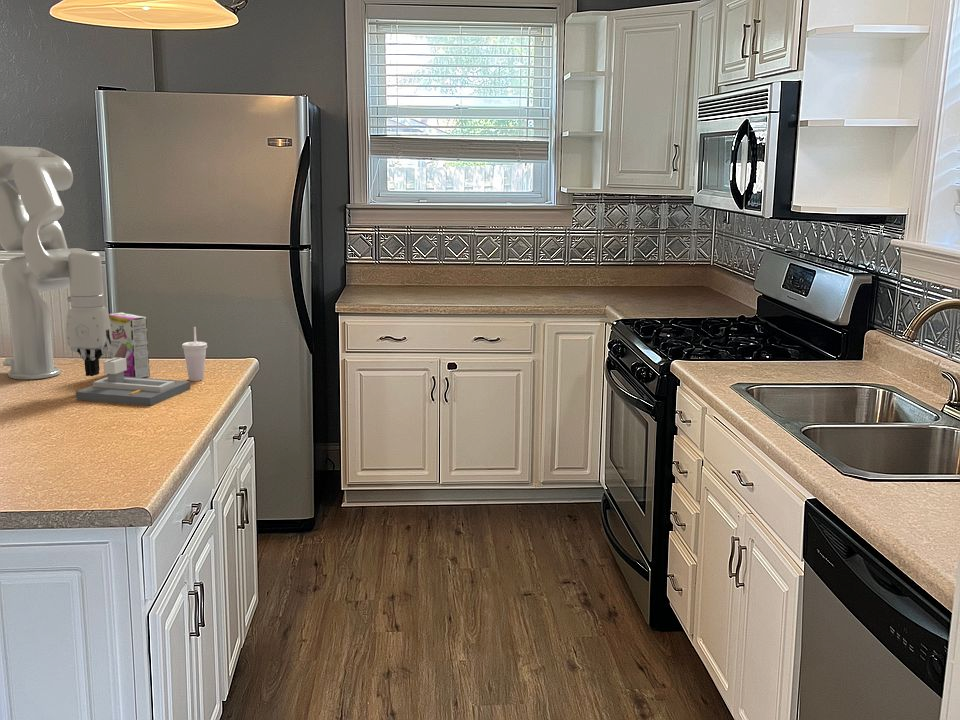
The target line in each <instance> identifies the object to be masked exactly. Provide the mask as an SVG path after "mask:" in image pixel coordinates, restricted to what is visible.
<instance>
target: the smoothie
mask: <svg viewBox="0 0 960 720" xmlns="http://www.w3.org/2000/svg"><path fill="white" fill-rule="evenodd" d="M193 340H194V341H188V342H187V341H186V342H184V343H182V344H181V346H182V347H181V348H182V349H183V353H184V359H185V360H184V361H185V364H186V365H185V366H186V370H187V378H188V380H189V381H190V382H200V380H201V381H203V380H204V377H205V365H206V363H205V362H206V355H207V354H206V352H207V348H208V342H205V341H197V327H196V326H193Z"/></svg>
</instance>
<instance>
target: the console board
mask: <svg viewBox="0 0 960 720" xmlns="http://www.w3.org/2000/svg"><path fill="white" fill-rule="evenodd" d="M92 383H93V385H91V386H89V387H85V388H82V389H80V390H77V391H75V399H76V401H83V400H84V401H85V402H97V403H107V404H108V403H109V404H110V403H111V404H119V403H121V404H122V405H131V404H134V405H133V406H143V405H144V407H152V406H155V405H157V404H159V403H161V402H164V401H166V400H169V399H171V398H172V397H175V396H177V395H180V394H182V393H184V392H186V391H189V390H191V381H190V380H189V381H188V380H179V379H162V378H150V377H146V378H139V377H126V376H124V383H116V382H108V376H107V377H106V376H105V377H103V378H101V379H98V380H96V381H93V382H92ZM121 404H120V405H121Z"/></svg>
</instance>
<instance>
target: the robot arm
mask: <svg viewBox="0 0 960 720" xmlns="http://www.w3.org/2000/svg"><path fill="white" fill-rule="evenodd" d="M8 180H13V182H14V184H15V186H14V185H12V184H11V183H10V182H9V181H8ZM73 182H74V174H73V171H72V168H71V166H70V164H69V163H68V162H67V160H65V159H64V158H63V157H61V156H59V155H57V154H55V153H53V152H51V151H48V150H47V149H44V148H42V147H37V146H36V147H35V146H10V145H0V246H1V247H2V249H3V250H4V251H6V252H8V253H15V254H16V253H24V256H23V255H22V256H21V255H20V256H15V257H11V258H10V259H8V260H7V261H5V263H4V264H3V265H2V268H1V276H2V281H3V285H4V288H5V292H6V297H7V302H8V303H7V304H8V309H9V320H10V329H11V330H10V331H11V333H10V334H11V344H12V356H13V357H6V358H5V359H4V360H2V361H3V362H2V366H3V367H10V370H9V371H8V373H7V375H8V378H11V379H16V380H38V379H46V378H52V377H55V376H58V375H60V373H61V368H60V367H58V366H55V365H54V352H53V339H52V327H51V325H52V324H51V315H50V314H51V313H50V308H49V306H48V304H47V302H46V301H45V299H43V297H42V296H41V295H40V294H39V293H42V292H49V291H50V292H51V291H58V290H64V289H67V288H69V292H70V295H68V297H67V299H66V300H67V302H69V303H70V305H71V306H70V307H68V309H67V315H66V325H65V326H66V327H65V328H66V330H65V333H66V334H65V335H66V337H65V338H66V345H67V346H68V347H69V349H70V351H73V352H75V353H77V354H79V355H80V356H81V360H82V361H84V371H85V376H86V377H94V376H97V375H99V374H100V359H101V358H102V356H103V355H104V354H108V353H109V354H110V352H111V347H110V345H111V344H112V333H111V325H110V319H109V315H108V314H109V312H108V308H107V307H105V297H104V296H105V295H104V294H105V293H104V281H103V264H102V257H101V254H100V253H99V252H97V251H92V250H91V251H90V250H86V249H84V248H79V247H78V248H77V247H75V248H73V247H72V248H68V244H67V240H66V237H65V233H64V231H63V228H62V225H61V224H60V222H59V221H58V220H60V219H61V218H62V217H63V215H64V213H65V207H64V205H63V202H62V200H61V198H60V196H59V191H60V192H61V191H67V190H69V189H70V188H71V187H72V185H73Z"/></svg>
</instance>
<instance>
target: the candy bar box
mask: <svg viewBox="0 0 960 720" xmlns="http://www.w3.org/2000/svg"><path fill="white" fill-rule="evenodd" d="M108 315H109V319H110V325H111V333H112V344H111V345H110V347H111V352H109V359H112V358H119V357H121V358H126V364H127V370H125V371H124V376H126V377H139V378H150V377H151V376H150V375H151V373H150V372H151V371H150V358H149V355H150V354H149V340H148V339H149V337H148V321H147V317H146V316H142V315H137V314H132V313H128V312H127V313H126V312H114V313H108Z"/></svg>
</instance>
